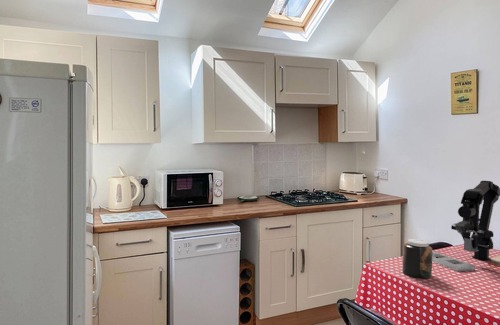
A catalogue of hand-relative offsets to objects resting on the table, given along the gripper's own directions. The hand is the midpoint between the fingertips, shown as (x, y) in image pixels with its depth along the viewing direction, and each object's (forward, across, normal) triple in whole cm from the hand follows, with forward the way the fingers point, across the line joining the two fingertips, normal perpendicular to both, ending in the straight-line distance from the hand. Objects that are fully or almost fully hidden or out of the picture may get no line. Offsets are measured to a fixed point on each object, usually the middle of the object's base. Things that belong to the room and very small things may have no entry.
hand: (470, 247), depth 176 cm
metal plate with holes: (+8, -5, -10) cm, 14 cm away
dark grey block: (+2, 0, 0) cm, 2 cm away
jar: (+9, +5, -37) cm, 38 cm away
